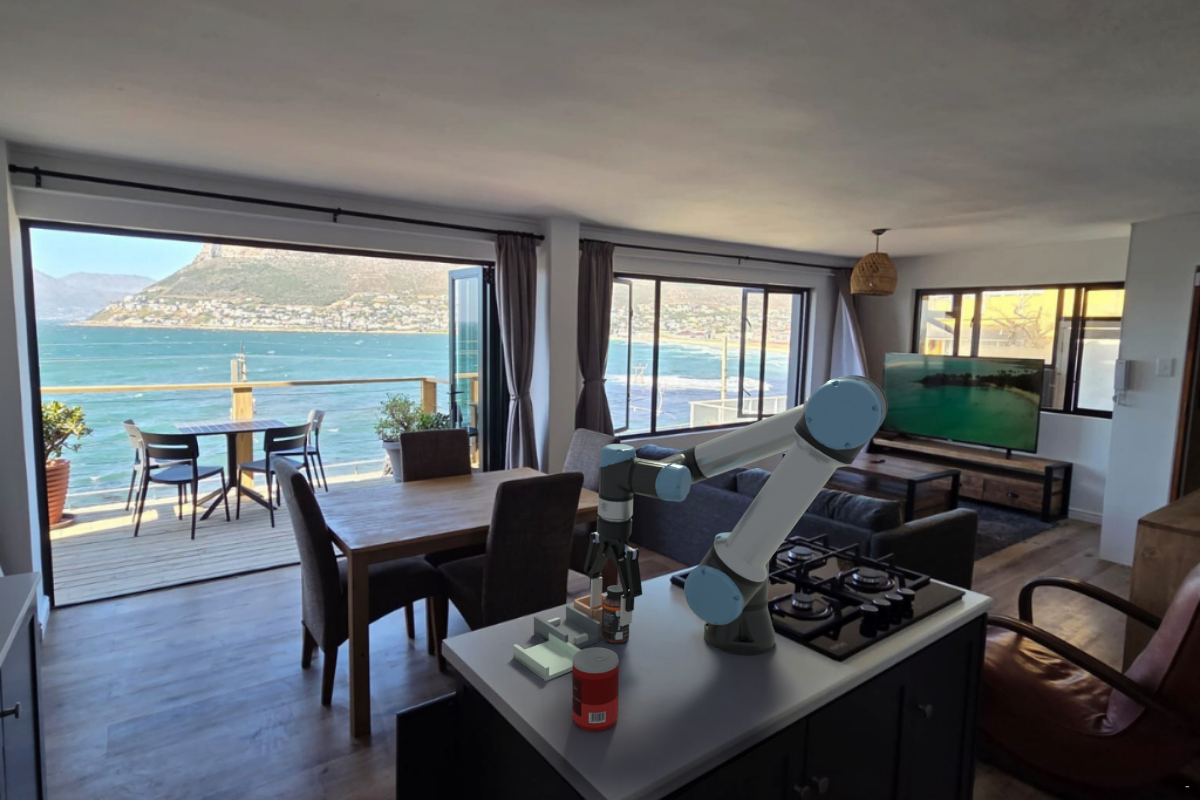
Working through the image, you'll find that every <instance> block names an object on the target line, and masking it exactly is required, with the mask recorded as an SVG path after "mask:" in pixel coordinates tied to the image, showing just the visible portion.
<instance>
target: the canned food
mask: <svg viewBox="0 0 1200 800" xmlns="http://www.w3.org/2000/svg"><path fill="white" fill-rule="evenodd" d="M580 650H581V651H579V652H577V653H576V654H575V655H574V657H573V666H572V678H571V679H572V681H571V682H572V683H571V684H572V693H571V694H572V695H571V696H572V702H571V703H572V704H571V705H572V708H571V709H572V719H573V722H574V724H575V725H576V727H579V728H580V729H581V730H583V729H584V731H587V732H601V731H605V730H608V729H610V728H612V727H613V726H614V725H615V724H616V722H617V719H618V717H619V685H620V684H619V681H620V680H619V675H620V674H619V673H620V667H619V666H620V665H619V663H620V660H619V655H618V654H617V653H616V652H615V651H614V650H611V649H609V648H606V647H605V648H604V647H588V648H583V649H580Z"/></svg>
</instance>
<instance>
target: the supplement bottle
mask: <svg viewBox="0 0 1200 800" xmlns="http://www.w3.org/2000/svg"><path fill="white" fill-rule="evenodd" d="M606 595H607V596H605V597H604V598H603V602H602V629H601V638H602V639H603V640H604V641H605V642H606V643H610V644H623V643H625V642H626V641H628V640H629V638H630V624H627V625H625V626H621V625H620V610H621V596H623V595H624V593H623V589H622V585H621V584H620V585H619V584H617V585H615V584H613V585H610V586H607V587H606Z"/></svg>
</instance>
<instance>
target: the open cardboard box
mask: <svg viewBox="0 0 1200 800" xmlns="http://www.w3.org/2000/svg"><path fill="white" fill-rule="evenodd" d="M605 596H607V594H605V593H603V592H602V600H601V605H599V606H596V607H593V608H591V607H590V594H589V595H585V596H582V597H579V598H576V599H573V608H575V609H577V610H578V611H580V612H582V613H584V614H586V615H588V616H589V617H591V618H593V619H595V620H597V621H599V622H600V623H601V630H602V602H603V598H604V597H605Z"/></svg>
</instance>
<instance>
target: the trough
mask: <svg viewBox="0 0 1200 800" xmlns="http://www.w3.org/2000/svg"><path fill="white" fill-rule="evenodd" d="M512 649H513V651H512V653H513V658H514V659H515V660H516V661H518V662H519V663H520V664H522V665H523V666H524V667H526V668H527V669H529V670H530V671H531V672H532V673H534V674H535V675H537V676H538V677H539V678H541V679H542V680H543V679H544V680H543V681H545V682H547V681H550V680H553V679H555V678H557V677H559V676H562V675H564V674H567V673H569V672H571V671H572V666H573V657H574V655H575V654H576V653H577V652H579V651H581V650H582V649H581V648H580V649H579V648H577V647H576V646H574V645H572V644H571V643H569V642H568V641H567V642H564V641H562V640H561V639H559V638H557V637H556V636H554V635H553V634H551V633H549V641H547V642H545V641H544V642H542V643H539V644H537V645H534V646H531V647H527V648H525V649H524V648H523V647H521V646H520V645H519V644H518V643H516V644H513V647H512Z"/></svg>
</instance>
